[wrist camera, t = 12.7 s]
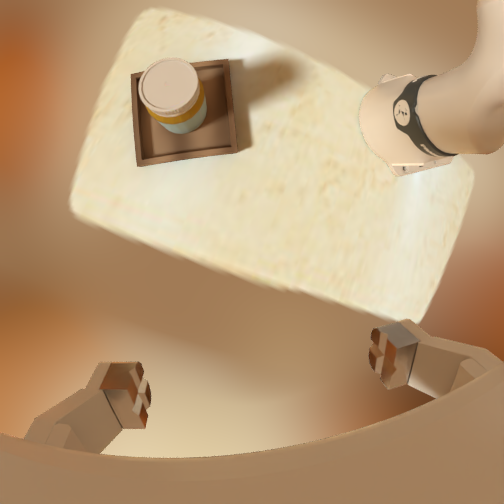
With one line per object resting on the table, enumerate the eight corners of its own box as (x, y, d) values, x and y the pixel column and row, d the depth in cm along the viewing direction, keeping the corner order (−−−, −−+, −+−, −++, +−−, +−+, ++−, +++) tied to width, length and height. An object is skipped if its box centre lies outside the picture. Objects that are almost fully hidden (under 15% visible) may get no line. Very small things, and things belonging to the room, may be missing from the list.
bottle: (152, 124, 39) (122, 103, 25) (173, 84, 38) (154, 46, 23) (194, 141, 41) (182, 126, 26) (215, 100, 39) (214, 66, 25)
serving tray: (227, 64, 39) (228, 59, 36) (236, 153, 42) (237, 151, 40) (134, 78, 37) (130, 74, 35) (141, 166, 41) (137, 166, 39)
